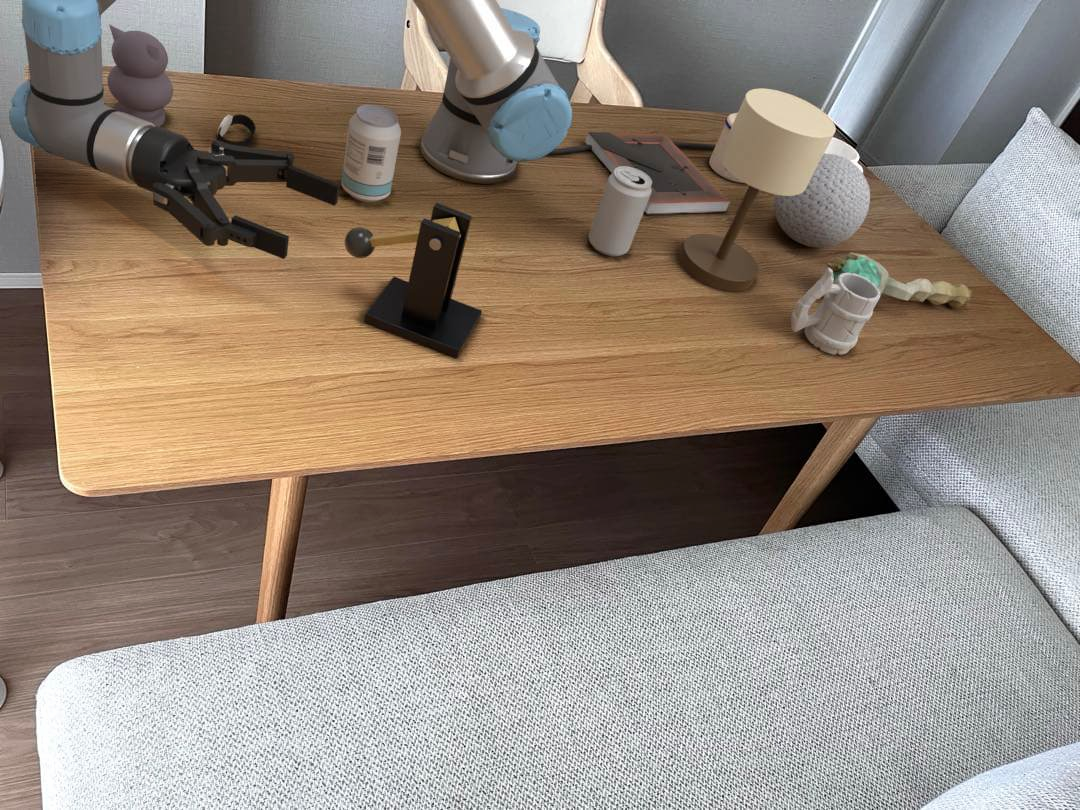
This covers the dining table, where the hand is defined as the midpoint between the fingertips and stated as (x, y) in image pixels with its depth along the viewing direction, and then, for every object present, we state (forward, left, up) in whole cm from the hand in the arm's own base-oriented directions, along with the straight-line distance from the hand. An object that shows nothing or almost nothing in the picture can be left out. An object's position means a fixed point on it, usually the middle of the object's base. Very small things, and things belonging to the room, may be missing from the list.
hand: (313, 220), depth 107 cm
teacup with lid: (-84, -31, -8) cm, 89 cm away
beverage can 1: (-12, -19, -8) cm, 24 cm away
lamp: (-63, -2, -8) cm, 63 cm away
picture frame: (-64, -27, -8) cm, 69 cm away
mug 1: (-96, -22, -8) cm, 98 cm away
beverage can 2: (-46, -7, -8) cm, 47 cm away
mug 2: (-71, +15, -8) cm, 73 cm away
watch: (+4, -31, -8) cm, 32 cm away
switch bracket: (-13, +9, -8) cm, 17 cm away
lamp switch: (-9, +7, +1) cm, 12 cm away
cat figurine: (+16, -36, -8) cm, 40 cm away
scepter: (-93, +6, -8) cm, 93 cm away
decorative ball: (-85, -10, -8) cm, 85 cm away
